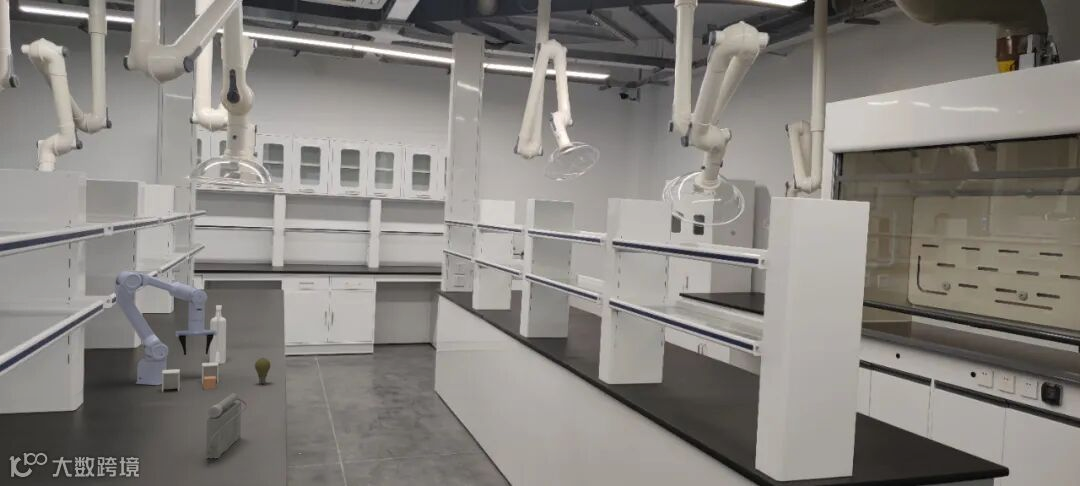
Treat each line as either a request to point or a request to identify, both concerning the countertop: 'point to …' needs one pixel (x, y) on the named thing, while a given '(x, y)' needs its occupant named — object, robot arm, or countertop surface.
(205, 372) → the right cover
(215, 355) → the white bottle
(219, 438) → the geiger counter
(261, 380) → the light bulb
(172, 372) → the left cover
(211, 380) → the cube
